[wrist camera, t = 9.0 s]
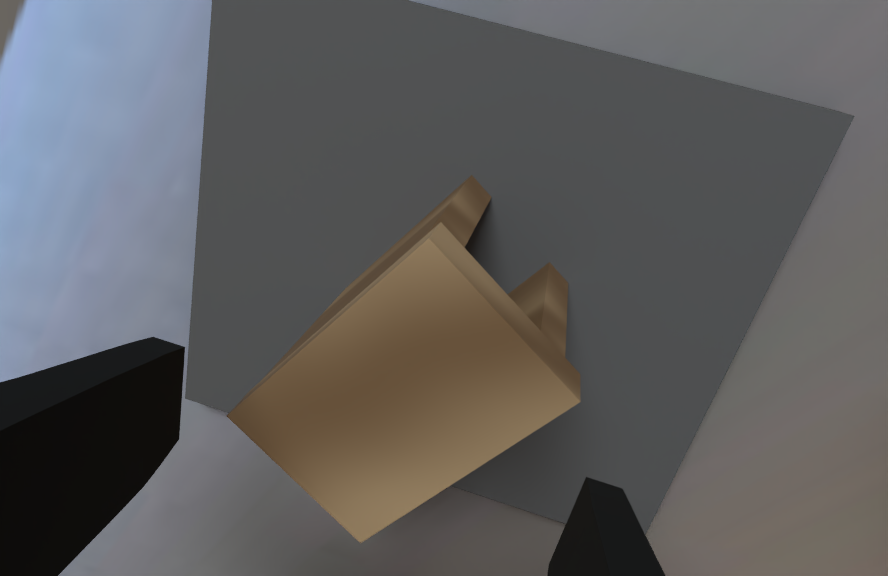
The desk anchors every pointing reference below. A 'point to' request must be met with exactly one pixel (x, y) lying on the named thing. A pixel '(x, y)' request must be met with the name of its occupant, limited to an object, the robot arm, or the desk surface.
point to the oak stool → (414, 375)
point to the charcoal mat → (498, 211)
